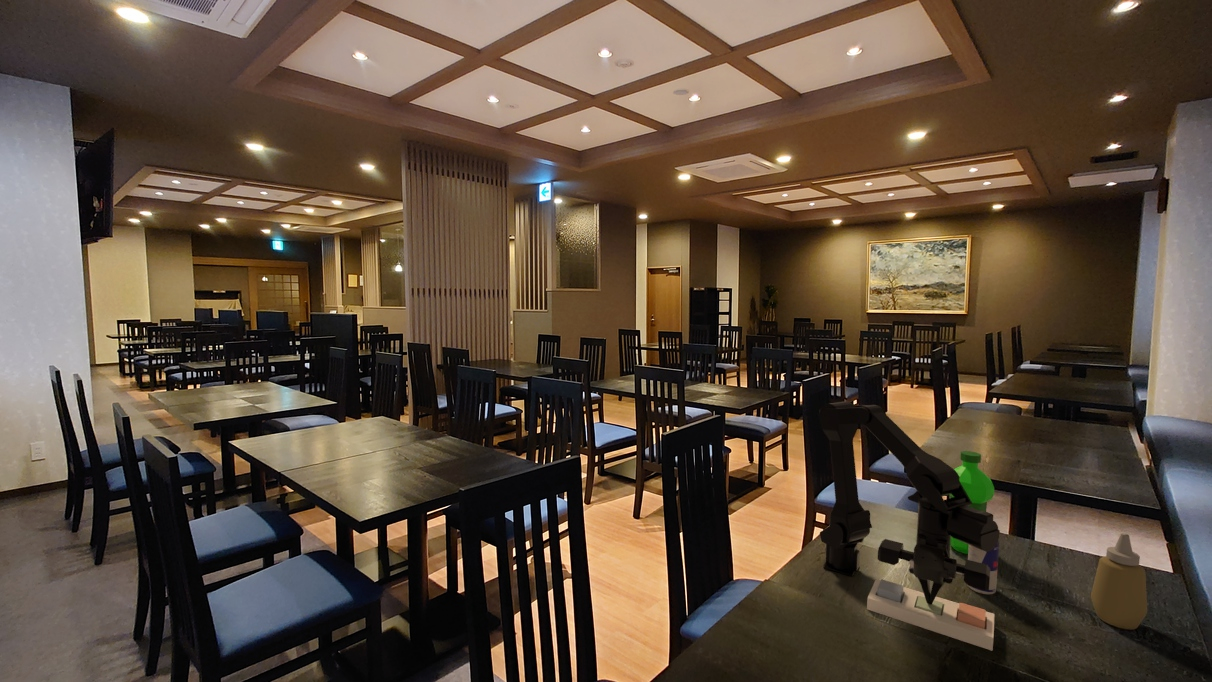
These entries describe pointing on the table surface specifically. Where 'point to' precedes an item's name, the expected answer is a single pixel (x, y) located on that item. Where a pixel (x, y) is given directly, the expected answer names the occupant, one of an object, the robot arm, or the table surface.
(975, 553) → the energy drink
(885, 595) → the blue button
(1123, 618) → the squeeze bottle
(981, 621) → the terracotta button
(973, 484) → the plastic bottle
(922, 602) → the green button
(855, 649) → the table surface
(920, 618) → the button panel
